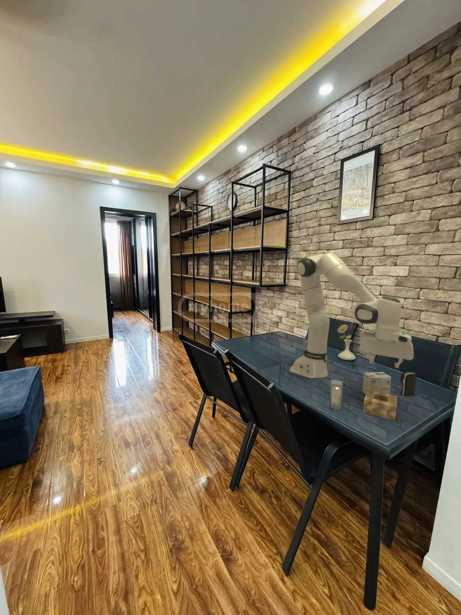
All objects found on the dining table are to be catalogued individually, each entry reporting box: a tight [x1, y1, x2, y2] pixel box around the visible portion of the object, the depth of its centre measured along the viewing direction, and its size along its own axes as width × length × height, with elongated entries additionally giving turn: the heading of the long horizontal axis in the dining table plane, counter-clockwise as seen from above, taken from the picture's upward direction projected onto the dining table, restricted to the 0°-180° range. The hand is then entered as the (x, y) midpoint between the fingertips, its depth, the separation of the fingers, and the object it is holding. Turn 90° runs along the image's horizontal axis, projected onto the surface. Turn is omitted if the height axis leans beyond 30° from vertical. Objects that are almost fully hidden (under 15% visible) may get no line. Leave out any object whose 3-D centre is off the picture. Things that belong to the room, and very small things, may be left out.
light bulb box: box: [362, 371, 392, 395], centre depth 129 cm, size 11×7×11 cm, turn 92°
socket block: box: [362, 389, 398, 421], centre depth 115 cm, size 12×12×6 cm
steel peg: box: [330, 385, 343, 411], centre depth 117 cm, size 4×4×10 cm
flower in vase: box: [336, 324, 356, 361], centre depth 181 cm, size 13×11×25 cm
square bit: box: [329, 379, 344, 402], centre depth 126 cm, size 5×5×8 cm
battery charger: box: [399, 371, 418, 397], centre depth 130 cm, size 7×4×11 cm, turn 105°
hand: (383, 365), depth 112 cm, fingers open, 8 cm apart
